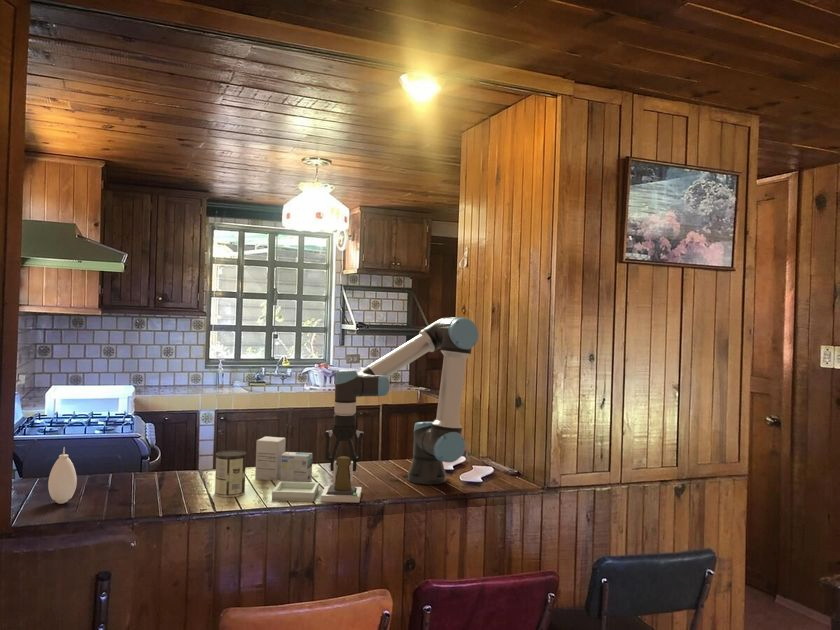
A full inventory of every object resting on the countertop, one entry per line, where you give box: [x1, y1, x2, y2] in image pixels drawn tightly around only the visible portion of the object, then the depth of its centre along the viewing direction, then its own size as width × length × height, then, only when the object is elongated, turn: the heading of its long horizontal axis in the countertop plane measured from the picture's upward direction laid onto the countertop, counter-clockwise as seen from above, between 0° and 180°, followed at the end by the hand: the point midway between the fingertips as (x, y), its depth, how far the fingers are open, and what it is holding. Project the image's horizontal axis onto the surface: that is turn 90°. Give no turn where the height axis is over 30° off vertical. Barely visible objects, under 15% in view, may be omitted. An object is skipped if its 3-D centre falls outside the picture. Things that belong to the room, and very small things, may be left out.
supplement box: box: [254, 436, 287, 481], centre depth 253 cm, size 9×9×15 cm
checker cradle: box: [320, 485, 362, 503], centre depth 229 cm, size 13×13×3 cm
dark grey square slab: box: [328, 484, 357, 495], centre depth 229 cm, size 9×9×2 cm
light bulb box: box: [279, 451, 313, 482], centre depth 248 cm, size 11×7×11 cm, turn 84°
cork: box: [334, 455, 352, 491], centre depth 229 cm, size 6×6×11 cm
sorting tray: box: [271, 480, 320, 503], centre depth 229 cm, size 14×14×3 cm
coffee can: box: [214, 450, 247, 498], centre depth 228 cm, size 10×10×14 cm
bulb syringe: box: [47, 446, 78, 505], centre depth 210 cm, size 8×8×18 cm
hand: (343, 480), depth 229 cm, fingers closed on cork, 5 cm apart
